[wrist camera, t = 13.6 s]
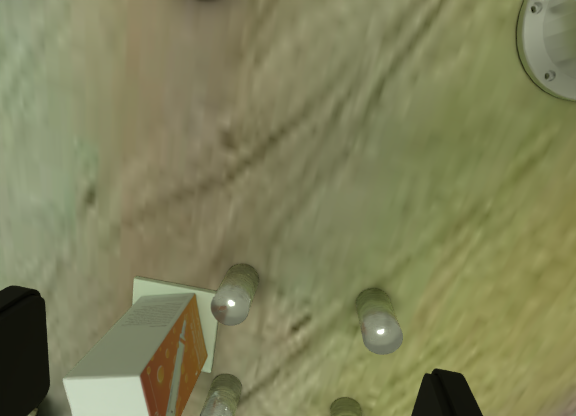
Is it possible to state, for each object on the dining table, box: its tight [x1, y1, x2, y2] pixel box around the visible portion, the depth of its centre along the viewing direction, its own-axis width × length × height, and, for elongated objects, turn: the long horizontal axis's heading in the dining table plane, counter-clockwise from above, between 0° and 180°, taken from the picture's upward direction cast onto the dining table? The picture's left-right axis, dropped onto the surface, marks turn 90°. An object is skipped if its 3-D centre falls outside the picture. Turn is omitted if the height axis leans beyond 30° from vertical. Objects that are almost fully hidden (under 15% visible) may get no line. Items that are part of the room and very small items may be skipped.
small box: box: [63, 293, 208, 416], centre depth 34 cm, size 8×6×13 cm
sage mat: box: [132, 276, 218, 373], centre depth 41 cm, size 10×10×1 cm
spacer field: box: [200, 264, 403, 416], centre depth 38 cm, size 18×18×6 cm
